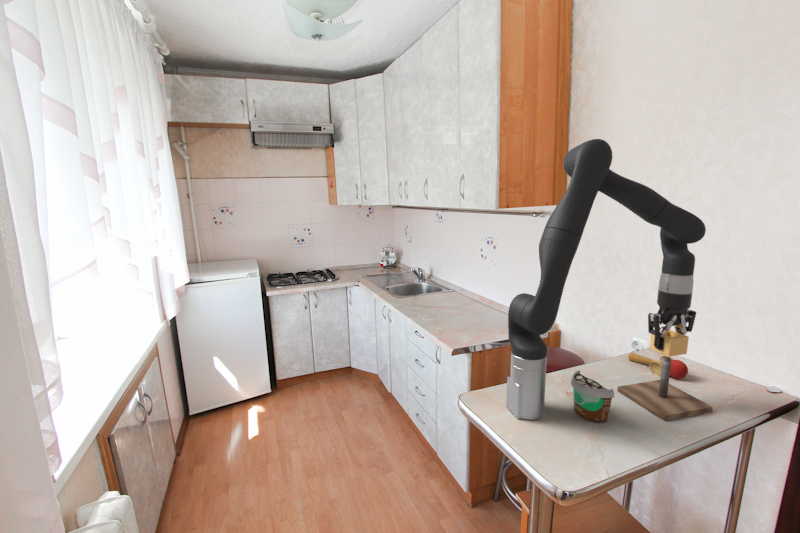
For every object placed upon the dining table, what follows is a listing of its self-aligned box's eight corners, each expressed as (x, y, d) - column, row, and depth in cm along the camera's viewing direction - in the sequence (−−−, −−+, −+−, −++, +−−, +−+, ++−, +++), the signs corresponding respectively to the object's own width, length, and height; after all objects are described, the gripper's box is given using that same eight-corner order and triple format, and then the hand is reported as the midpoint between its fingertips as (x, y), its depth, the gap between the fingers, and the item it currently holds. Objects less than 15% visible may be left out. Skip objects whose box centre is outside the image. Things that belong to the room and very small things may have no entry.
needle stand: (664, 421, 101) (669, 373, 98) (617, 391, 116) (621, 349, 114) (712, 411, 104) (718, 365, 102) (660, 383, 120) (665, 343, 117)
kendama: (622, 367, 135) (678, 381, 119) (623, 349, 135) (680, 361, 119) (636, 366, 138) (692, 380, 122) (637, 348, 138) (693, 360, 122)
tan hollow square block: (668, 356, 104) (670, 339, 103) (649, 348, 110) (651, 331, 109) (686, 353, 105) (688, 336, 104) (666, 345, 111) (668, 329, 110)
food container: (559, 405, 109) (561, 373, 107) (576, 401, 111) (578, 369, 109) (593, 430, 98) (596, 394, 96) (611, 425, 100) (615, 389, 98)
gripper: (665, 295, 99) (659, 356, 102) (710, 290, 102) (701, 349, 105) (641, 288, 106) (635, 345, 109) (683, 284, 109) (676, 339, 112)
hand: (668, 347), depth 107 cm, fingers closed on tan hollow square block, 6 cm apart
